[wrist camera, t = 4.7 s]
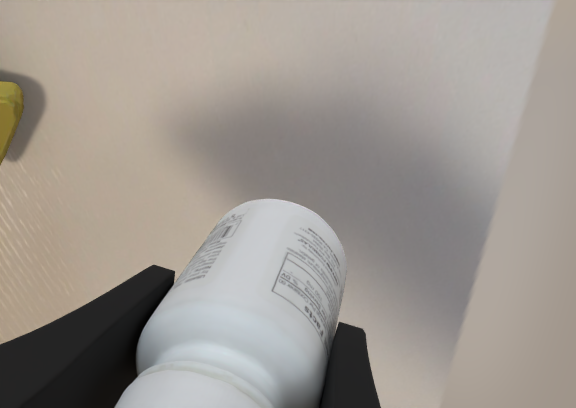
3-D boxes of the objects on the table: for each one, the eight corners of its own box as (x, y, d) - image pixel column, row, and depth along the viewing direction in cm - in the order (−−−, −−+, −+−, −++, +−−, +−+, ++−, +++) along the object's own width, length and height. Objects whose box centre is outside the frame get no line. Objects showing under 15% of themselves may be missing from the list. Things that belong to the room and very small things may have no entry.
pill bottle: (214, 300, 17) (83, 528, 10) (211, 185, 15) (46, 375, 8) (341, 324, 16) (289, 587, 10) (356, 206, 14) (305, 435, 8)
